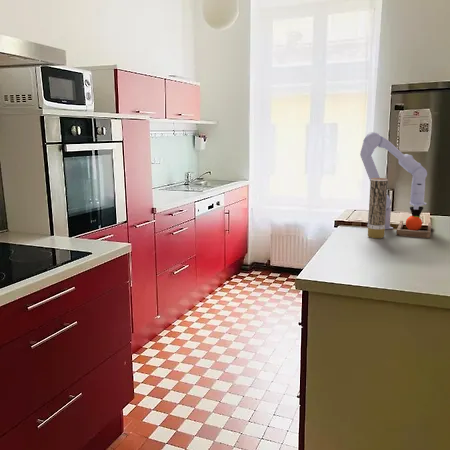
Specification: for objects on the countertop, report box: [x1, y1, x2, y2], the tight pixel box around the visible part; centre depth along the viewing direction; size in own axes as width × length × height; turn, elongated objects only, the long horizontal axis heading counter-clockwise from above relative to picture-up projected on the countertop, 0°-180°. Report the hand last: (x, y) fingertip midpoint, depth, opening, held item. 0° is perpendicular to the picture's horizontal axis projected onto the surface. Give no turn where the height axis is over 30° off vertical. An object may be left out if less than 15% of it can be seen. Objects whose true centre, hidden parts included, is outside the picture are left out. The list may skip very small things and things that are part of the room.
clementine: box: [405, 215, 423, 231], centre depth 211 cm, size 8×7×7 cm
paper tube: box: [367, 177, 389, 240], centre depth 199 cm, size 7×7×25 cm
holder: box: [395, 220, 432, 239], centre depth 211 cm, size 21×13×2 cm, turn 156°
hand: (415, 222), depth 215 cm, fingers closed
